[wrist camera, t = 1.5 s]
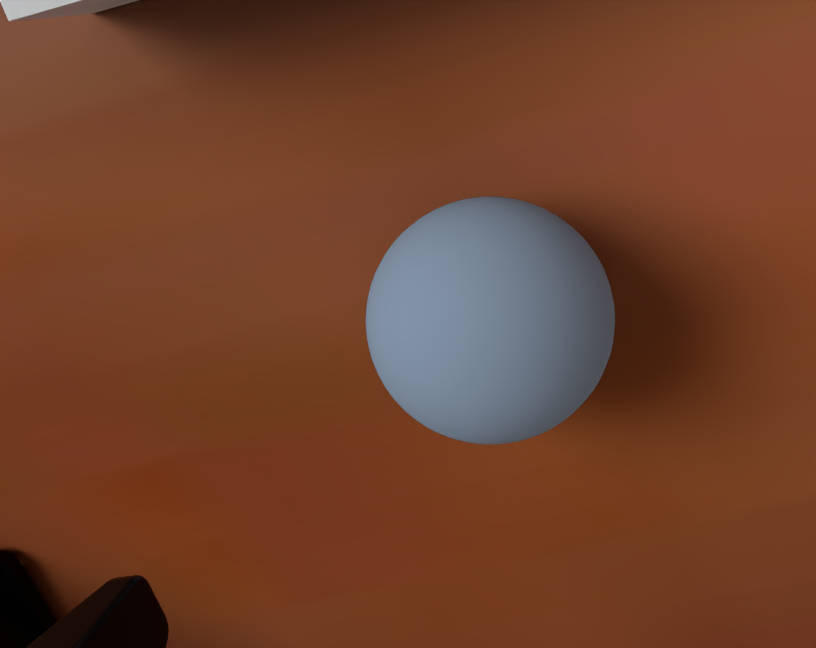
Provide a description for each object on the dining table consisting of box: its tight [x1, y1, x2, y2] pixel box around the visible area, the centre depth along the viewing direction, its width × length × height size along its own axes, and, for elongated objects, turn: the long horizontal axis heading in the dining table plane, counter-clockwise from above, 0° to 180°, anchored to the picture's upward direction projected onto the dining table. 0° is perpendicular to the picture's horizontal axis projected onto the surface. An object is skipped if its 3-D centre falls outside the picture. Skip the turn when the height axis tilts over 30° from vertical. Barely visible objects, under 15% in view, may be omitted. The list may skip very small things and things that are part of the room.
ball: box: [366, 197, 615, 444], centre depth 15 cm, size 5×5×5 cm
